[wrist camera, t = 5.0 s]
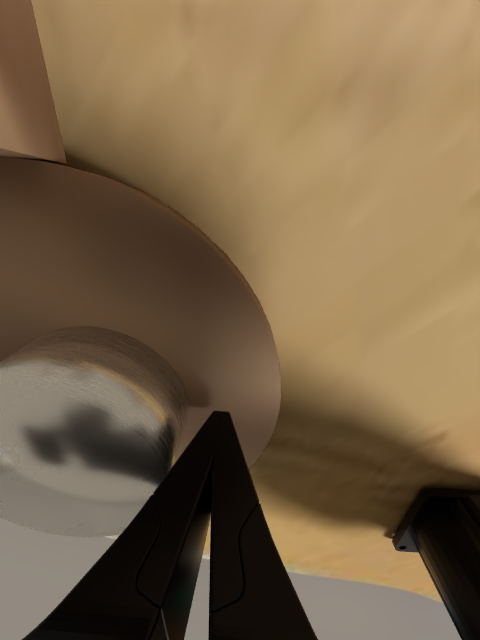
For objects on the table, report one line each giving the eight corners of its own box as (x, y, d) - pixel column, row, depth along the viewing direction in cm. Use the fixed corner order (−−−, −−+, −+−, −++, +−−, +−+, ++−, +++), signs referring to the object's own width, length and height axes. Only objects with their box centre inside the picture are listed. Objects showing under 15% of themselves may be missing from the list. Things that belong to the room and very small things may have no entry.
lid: (192, 459, 11) (173, 542, 8) (48, 451, 11) (-17, 531, 8) (184, 331, 8) (152, 392, 5) (-9, 320, 8) (-136, 376, 6)
